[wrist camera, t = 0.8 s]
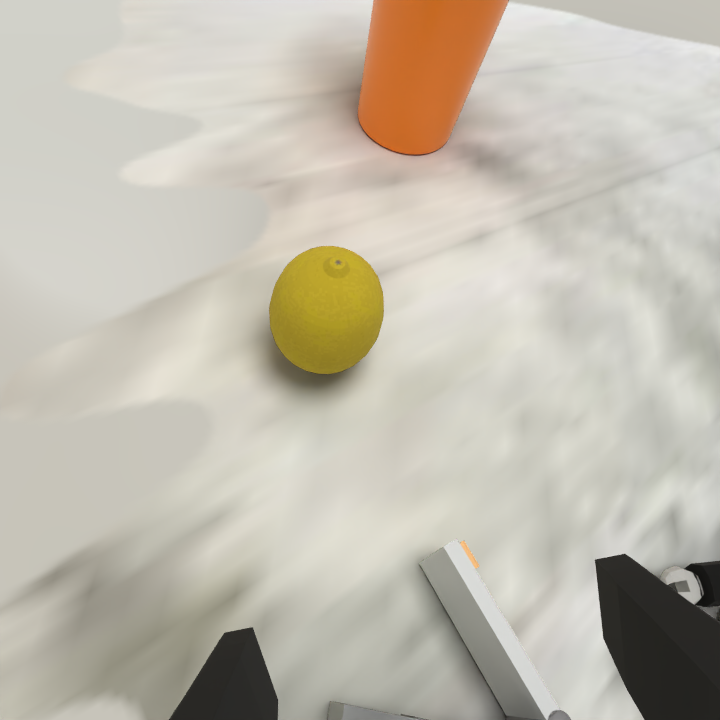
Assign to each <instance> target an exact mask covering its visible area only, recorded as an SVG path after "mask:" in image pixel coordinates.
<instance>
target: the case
mask: <svg viewBox="0 0 720 720" xmlns="http://www.w3.org/2000/svg"><path fill="white" fill-rule="evenodd" d="M327 720H427V719H423V718H418V717H413V716H408V715H402V714H401V715H396V714H391V713H386V712H381V711H376V710H371V709H367V708H362V707H357V706H352V705H347V704H342V703H337V702H332V701H330V705H329V711H328V717H327Z"/></svg>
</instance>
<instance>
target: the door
mask: <svg viewBox="0 0 720 720" xmlns="http://www.w3.org/2000/svg"><path fill="white" fill-rule="evenodd" d="M419 564H420V565H421V567H422V569H423V571H424V572H425V574H426V576H427V578H428V579H429V581H430V583H431V585H432V586H433V588H434V590H435V592H436V594H437V595H438V597H439V599H440V601H441V602H442V604H443V606H444V608H445V609H446V611H447V613H448V615H449V616H450V618H451V620H452V622H453V623H454V625H455V627H456V629H457V630H458V632H459V634H460V636H461V637H462V639H463V641H464V643H465V644H466V646H467V648H468V650H469V651H470V653H471V655H472V657H473V658H474V660H475V662H476V664H477V665H478V667H479V669H480V671H481V672H482V674H483V676H484V678H485V679H486V681H487V683H488V685H489V686H490V688H491V690H492V692H493V693H494V695H495V697H496V699H497V700H498V702H499V704H500V706H501V707H502V709H503V711H504V713H505V714H506V716H507V720H571V719H570V717H569V716H568V715H567V714H566V713H565V712H564V711H561V710H560V708H559V706H558V704H557V703H556V701H555V699H554V698H553V696H552V695H551V693H550V691H549V690H548V688H547V686H546V685H545V683H544V681H543V680H542V678H541V676H540V675H539V673H538V671H537V670H536V668H535V666H534V665H533V663H532V661H531V660H530V658H529V657H528V655H527V653H526V652H525V650H524V648H523V647H522V645H521V643H520V642H519V640H518V638H517V637H516V635H515V633H514V632H513V630H512V628H511V627H510V625H509V624H508V622H507V620H506V619H505V617H504V615H503V614H502V612H501V610H500V609H499V607H498V605H497V604H496V602H495V600H494V599H493V597H492V595H491V594H490V592H489V591H488V589H487V587H486V586H485V584H484V582H483V581H482V579H481V577H480V576H479V574H478V572H477V571H476V568H477V567H479V564H478V563H477V561H476V560H475V558H474V556H473V555H472V553H471V551H470V550H469V548H468V546H467V545H466V543H465V542H464V541H462V542H460V543H459V541H458V539H455V540H453V541H452V542H450V543H448V544H447V545H445V546H443V547H442V548H440V549H439V550H437V551H436V552H435V553H433V554H432V555H430V556H429V557H427V558H426V559H425V560H423V561H422V562H420V563H419Z"/></svg>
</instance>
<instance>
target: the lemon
mask: <svg viewBox="0 0 720 720" xmlns="http://www.w3.org/2000/svg"><path fill="white" fill-rule="evenodd" d="M269 314H270V328H271V331H272V334H273V337H274V340H275V342H276V345H277V346H278V348H279V349H280V351H281V352H282V353H283V355H284V356H285V357H286V358H287V359H288V360H289V361H291V362H292V363H293V364H294V365H296V366H298V367H299V368H301V369H303V370H305V371H309V372H313V373H317V374H332V373H337V372H341V371H343V370H346V369H348V368H350V367H352V366H354V365H355V364H356V363H358V362H359V361H360V360H361V359H362V358H363V357H365V356H366V355H367V353H368V352H369V351H370V349H371V348H372V346H373V345H374V343H375V341H376V340H377V338H378V335H379V332H380V328H381V325H382V321H383V314H384V305H383V291H382V288H381V285H380V282H379V279H378V276H377V275H376V273H375V272H374V270H373V268H372V267H371V266H370V264H368V263H367V262H366V261H365V260H364V259H363V258H362V257H361V256H359V255H357V254H356V253H354V252H352V251H350V250H347V249H345V248H341V247H335V246H320V247H316V248H312V249H309V250H307V251H305V252H303V253H301V254H299V255H298V256H297V257H295V258H294V259H293V260H292V261H291V262H290V263H289V264H288V265H287V266H286V267H285V269H284V270H283V272H282V274H281V275H280V277H279V278H278V280H277V282H276V284H275V287H274V290H273V294H272V298H271V301H270V307H269Z"/></svg>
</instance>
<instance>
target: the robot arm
mask: <svg viewBox="0 0 720 720" xmlns="http://www.w3.org/2000/svg"><path fill="white" fill-rule="evenodd" d="M595 563H596V573H597V582H598V591H599V601H600V610H601V619H602V629H603V638H604V640H605V643H606V645H607V647H608V649H609V652H610V654H611V656H612V658H613V660H614V663H615V665H616V667H617V669H618V671H619V673H620V676H621V678H622V680H623V682H624V684H625V686H626V688H627V690H628V692H629V694H630V695H631V697H632V699H633V701H634V702H635V704H636V706H637V707H638V709H639V711H640V712H641V714H642V716H643V718H644V719H645V720H720V622H719V621H717V620H716V619H714V618H713V617H711V616H710V615H708V614H707V613H705V612H704V611H703V610H701V609H700V608H698V607H697V606H695V605H694V604H693V603H691V602H690V601H688V600H687V599H686V598H684V597H683V596H681V595H680V594H679V593H677V592H676V591H675V590H673V589H672V588H671V587H669V586H668V585H667V584H665V583H664V582H662V581H661V580H660V579H658V578H657V577H656V576H654V575H653V574H652V573H650V572H649V571H648V570H647V569H645V568H644V567H643V566H641V565H640V564H639V563H637V562H636V561H635V560H633V559H632V558H630V557H629V556H627V555H626V554H622V555H617V556H612V557H607V558H601V559H596V560H595ZM169 720H278V699H277V696H276V693H275V690H274V687H273V684H272V682H271V679H270V676H269V673H268V670H267V667H266V664H265V661H264V659H263V656H262V653H261V650H260V647H259V644H258V641H257V638H256V636H255V633H254V630H253V627H252V628H246V629H241V630H236V631H231V632H226V633H224V634H223V636H222V637H221V639H220V640H219V642H218V644H217V645H216V647H215V648H214V650H213V651H212V653H211V655H210V656H209V658H208V659H207V661H206V663H205V664H204V666H203V668H202V669H201V671H200V672H199V674H198V676H197V677H196V679H195V680H194V682H193V684H192V685H191V687H190V688H189V690H188V692H187V693H186V695H185V696H184V698H183V699H182V701H181V702H180V704H179V705H178V707H177V708H176V710H175V711H174V713H173V715H172V716H171V718H170V719H169Z"/></svg>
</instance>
